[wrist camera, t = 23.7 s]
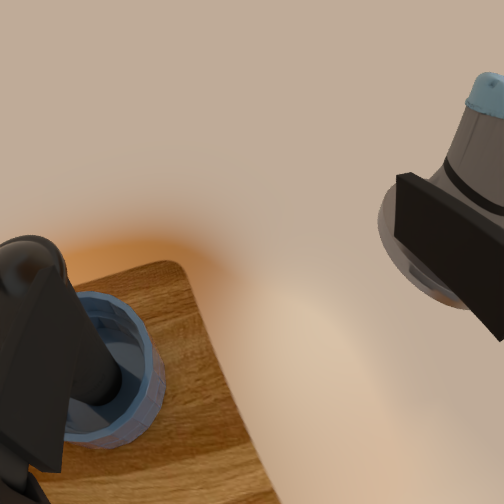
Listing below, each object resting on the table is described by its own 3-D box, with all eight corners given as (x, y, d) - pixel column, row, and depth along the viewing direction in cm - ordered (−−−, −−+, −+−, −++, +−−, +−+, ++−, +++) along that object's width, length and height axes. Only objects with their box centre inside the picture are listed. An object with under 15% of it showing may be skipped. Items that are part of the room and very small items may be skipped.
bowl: (140, 302, 29) (125, 271, 25) (191, 421, 22) (180, 408, 18) (33, 344, 25) (7, 319, 21) (63, 464, 18) (30, 457, 14)
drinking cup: (48, 364, 23) (-99, 198, 8) (113, 325, 26) (9, 122, 11) (81, 437, 19) (-126, 309, 4) (155, 394, 23) (14, 197, 7)
